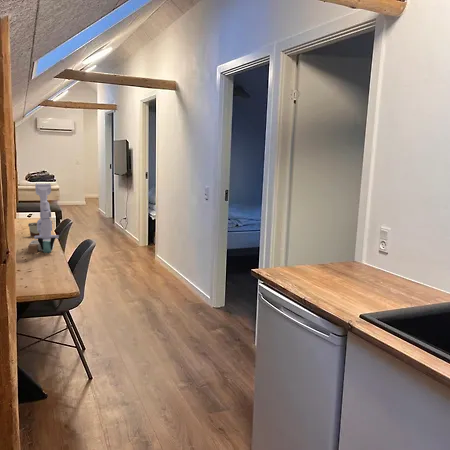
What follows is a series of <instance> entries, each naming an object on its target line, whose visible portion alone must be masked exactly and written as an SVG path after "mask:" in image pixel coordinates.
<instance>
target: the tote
mask: <svg viewBox="0 0 450 450" xmlns="http://www.w3.org/2000/svg"><path fill="white" fill-rule="evenodd" d="M43 241H51V240H43ZM29 244H38V252H43V250H42V248H41V245H40V243H39V242H38V239H32V240H31V241H30V242H29V243H28V245H29ZM54 248H55V243H54V244H53V249H52V250H51V252H52V251H53V250H54Z"/></svg>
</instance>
